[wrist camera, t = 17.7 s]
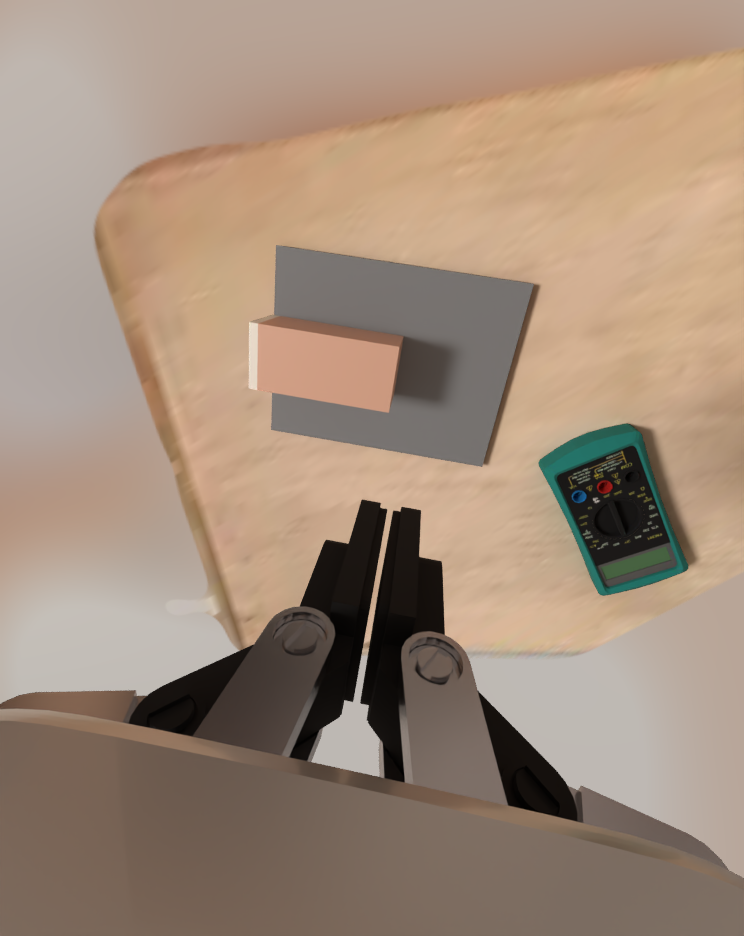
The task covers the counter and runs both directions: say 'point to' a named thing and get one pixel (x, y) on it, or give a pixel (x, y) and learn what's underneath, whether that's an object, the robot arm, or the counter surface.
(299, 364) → the block
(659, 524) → the digital multimeter
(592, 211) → the counter surface
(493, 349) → the mat
